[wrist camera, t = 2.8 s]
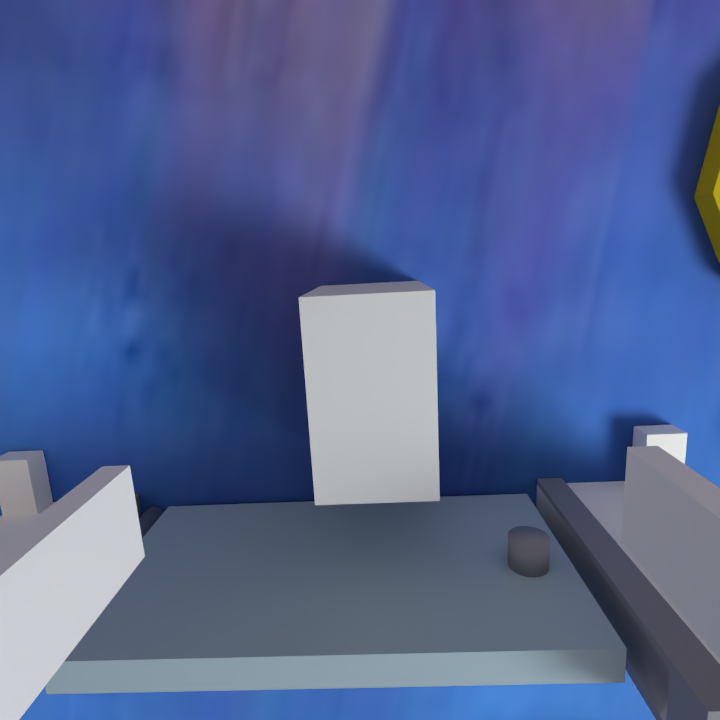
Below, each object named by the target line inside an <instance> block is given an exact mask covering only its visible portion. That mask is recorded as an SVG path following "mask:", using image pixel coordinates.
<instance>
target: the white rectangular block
mask: <svg viewBox="0 0 720 720" xmlns="http://www.w3.org/2000/svg"><path fill="white" fill-rule="evenodd" d="M298 298H299V310H300V323H301V335H302V348H303V360H304V373H305V386H306V398H307V411H308V423H309V436H310V448H311V461H312V473H313V486H314V499H315V505H338V504H366V503H395V502H423V501H440V484H439V440H438V395H437V351H436V307H435V290H434V289H432V288H430V287H428V286H426V285H425V284H423V283H421V282H419V281H402V282H384V283H365V284H346V285H327V286H319V287H317V288H316V289H314V290H312V291H310V292H308V293H306V294H304V295H302V296H300V297H298Z"/></svg>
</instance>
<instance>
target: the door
mask: <svg viewBox="0 0 720 720" xmlns="http://www.w3.org/2000/svg"><path fill="white" fill-rule="evenodd" d="M139 524H140V530H141V536H142V542H143V548H144V554H145V557H144V558H143V559H142V561H141V562H140V563H139V565H138V566H137V567H136V569H135V570H134V571H133V572H132V574H131V575H130V576H129V578H128V579H127V580H126V582H125V583H124V584H123V585H122V587H121V588H120V589H119V591H118V592H117V593H116V595H115V596H114V597H113V598H112V600H111V601H110V602H109V604H108V605H107V606H106V608H105V609H104V610H103V611H102V613H101V614H100V615H99V617H98V618H97V619H96V621H95V622H94V623H93V624H92V626H91V627H90V628H89V630H88V631H87V632H86V634H85V635H84V636H83V637H82V639H81V640H80V641H79V643H78V644H77V645H76V647H75V648H74V649H73V650H72V652H71V653H70V654H69V656H68V657H67V658H66V660H65V661H64V662H63V663H62V665H61V666H60V667H59V669H58V670H57V671H56V673H55V674H54V675H53V676H52V678H51V679H50V680H49V682H48V683H47V684H46V686H45V688H46V692H47V694H81V693H130V692H179V691H228V690H278V689H327V688H376V687H425V686H474V685H523V684H572V683H621V682H625V668H626V653H627V648H626V647H625V645H624V643H623V642H622V640H621V639H620V637H619V636H618V634H617V633H616V631H615V629H614V628H613V626H612V625H611V623H610V622H609V620H608V619H607V617H606V616H605V614H604V612H603V611H602V609H601V608H600V606H599V605H598V603H597V602H596V600H595V598H594V597H593V595H592V594H591V592H590V591H589V589H588V588H587V586H586V585H585V583H584V581H583V580H582V578H581V577H580V575H579V574H578V572H577V571H576V569H575V567H574V566H573V564H572V563H571V561H570V560H569V558H568V557H567V555H566V554H565V552H564V550H563V549H562V547H561V546H560V544H559V543H558V541H557V540H556V538H555V536H554V535H553V533H552V532H551V530H550V529H549V527H548V526H547V524H546V523H545V521H544V519H543V518H542V516H541V515H540V513H539V512H538V510H537V509H536V507H535V505H534V504H533V502H532V501H531V499H530V498H529V496H528V495H527V494H503V495H475V496H447V497H440V501H423V502H395V503H366V504H338V505H315V501H307V502H280V503H252V504H224V505H196V506H169V507H168V508H167V509H166V510H165V512H163V510H162V509H161V508H159V507H156V506H152V507H149V508H148V509H147V510H146V511H145V512H144V513H143V514H142V515H141V516H140V517H139Z"/></svg>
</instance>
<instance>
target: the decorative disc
mask: <svg viewBox="0 0 720 720" xmlns="http://www.w3.org/2000/svg"><path fill="white" fill-rule="evenodd" d="M694 198H695V201H696V204H697V206H698V209H699V212H700V214H701V217H702V220H703V222H704V225H705V227H706V230H707V233H708V235H709V238H710V241H711V243H712V246H713V248H714V251H715V254H716V256H717V259H718V262H719V264H720V104H719V108H718V111H717V115H716V119H715V122H714V126H713V130H712V133H711V137H710V141H709V144H708V148H707V152H706V155H705V159H704V163H703V166H702V170H701V173H700V177H699V181H698V184H697V188H696V192H695V195H694Z"/></svg>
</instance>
